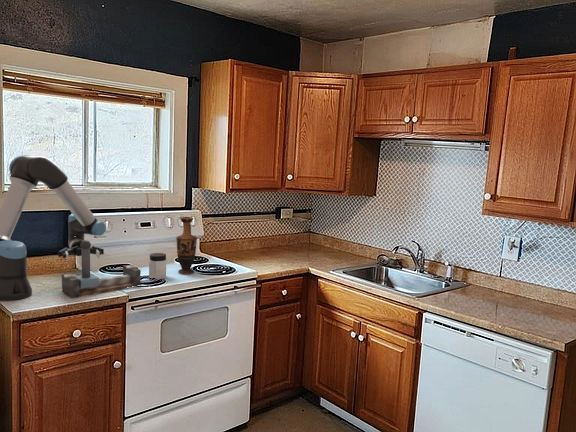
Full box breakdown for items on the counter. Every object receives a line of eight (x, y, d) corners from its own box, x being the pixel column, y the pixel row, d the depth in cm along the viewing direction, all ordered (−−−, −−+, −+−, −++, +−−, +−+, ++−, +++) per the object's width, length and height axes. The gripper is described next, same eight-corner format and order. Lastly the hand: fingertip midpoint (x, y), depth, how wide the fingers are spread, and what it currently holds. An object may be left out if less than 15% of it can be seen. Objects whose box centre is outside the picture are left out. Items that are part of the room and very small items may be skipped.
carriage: (81, 288, 216) (80, 242, 213) (73, 284, 222) (72, 239, 220) (99, 285, 221) (98, 241, 219) (91, 281, 228) (90, 237, 225)
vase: (192, 275, 256) (193, 219, 252) (172, 274, 258) (173, 218, 254) (199, 271, 267) (200, 216, 263) (180, 269, 269) (181, 215, 265)
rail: (69, 298, 211) (69, 279, 210) (59, 291, 220) (59, 273, 219) (142, 285, 235) (142, 268, 234) (130, 280, 243) (130, 263, 242)
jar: (151, 280, 245) (151, 256, 243) (146, 276, 252) (146, 253, 250) (168, 278, 250) (169, 255, 248) (163, 274, 257) (163, 252, 255)
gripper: (104, 253, 254) (111, 262, 235) (51, 256, 242) (54, 265, 223) (104, 239, 253) (111, 246, 234) (51, 241, 241) (53, 249, 222)
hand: (83, 256), depth 229 cm, fingers open, 13 cm apart
